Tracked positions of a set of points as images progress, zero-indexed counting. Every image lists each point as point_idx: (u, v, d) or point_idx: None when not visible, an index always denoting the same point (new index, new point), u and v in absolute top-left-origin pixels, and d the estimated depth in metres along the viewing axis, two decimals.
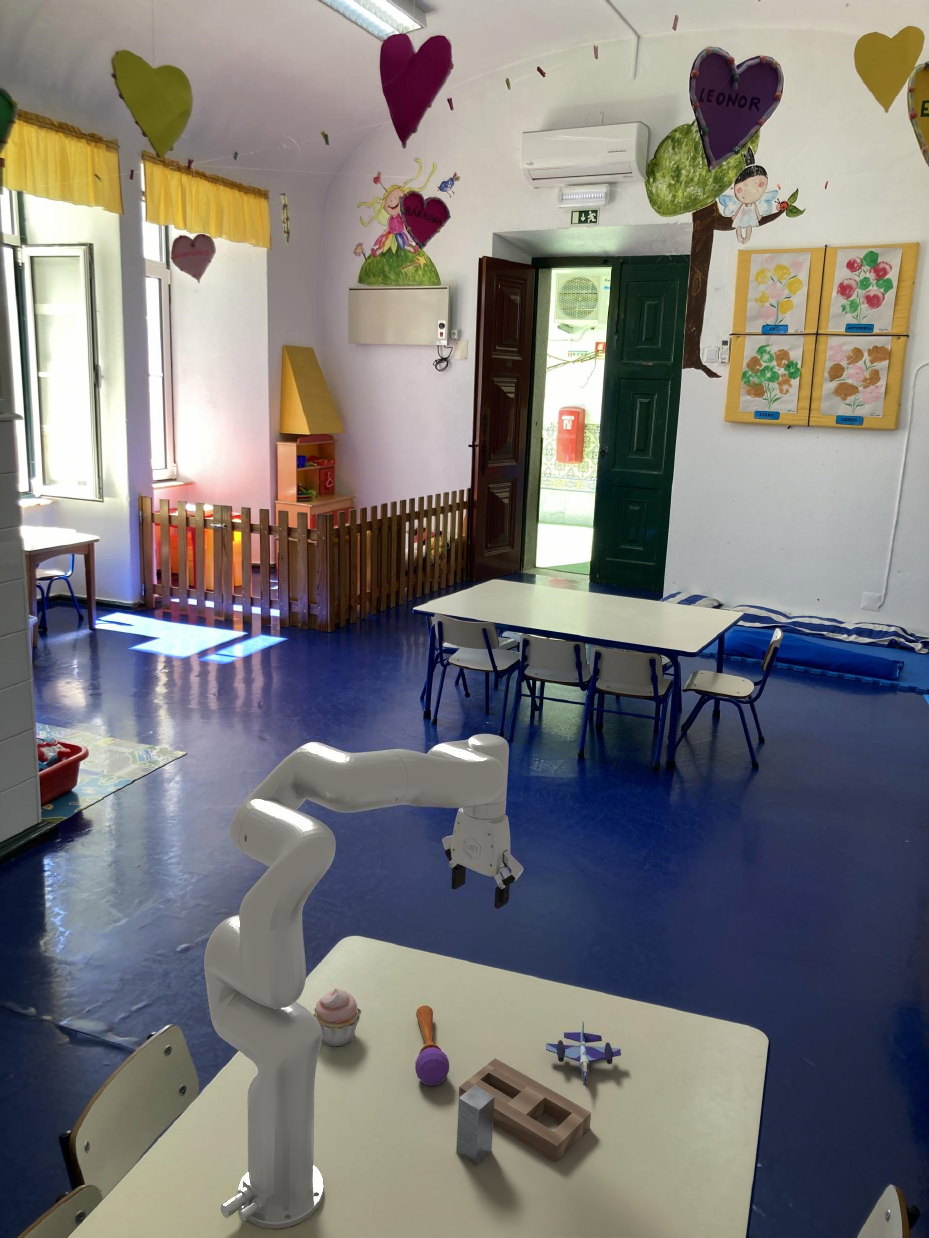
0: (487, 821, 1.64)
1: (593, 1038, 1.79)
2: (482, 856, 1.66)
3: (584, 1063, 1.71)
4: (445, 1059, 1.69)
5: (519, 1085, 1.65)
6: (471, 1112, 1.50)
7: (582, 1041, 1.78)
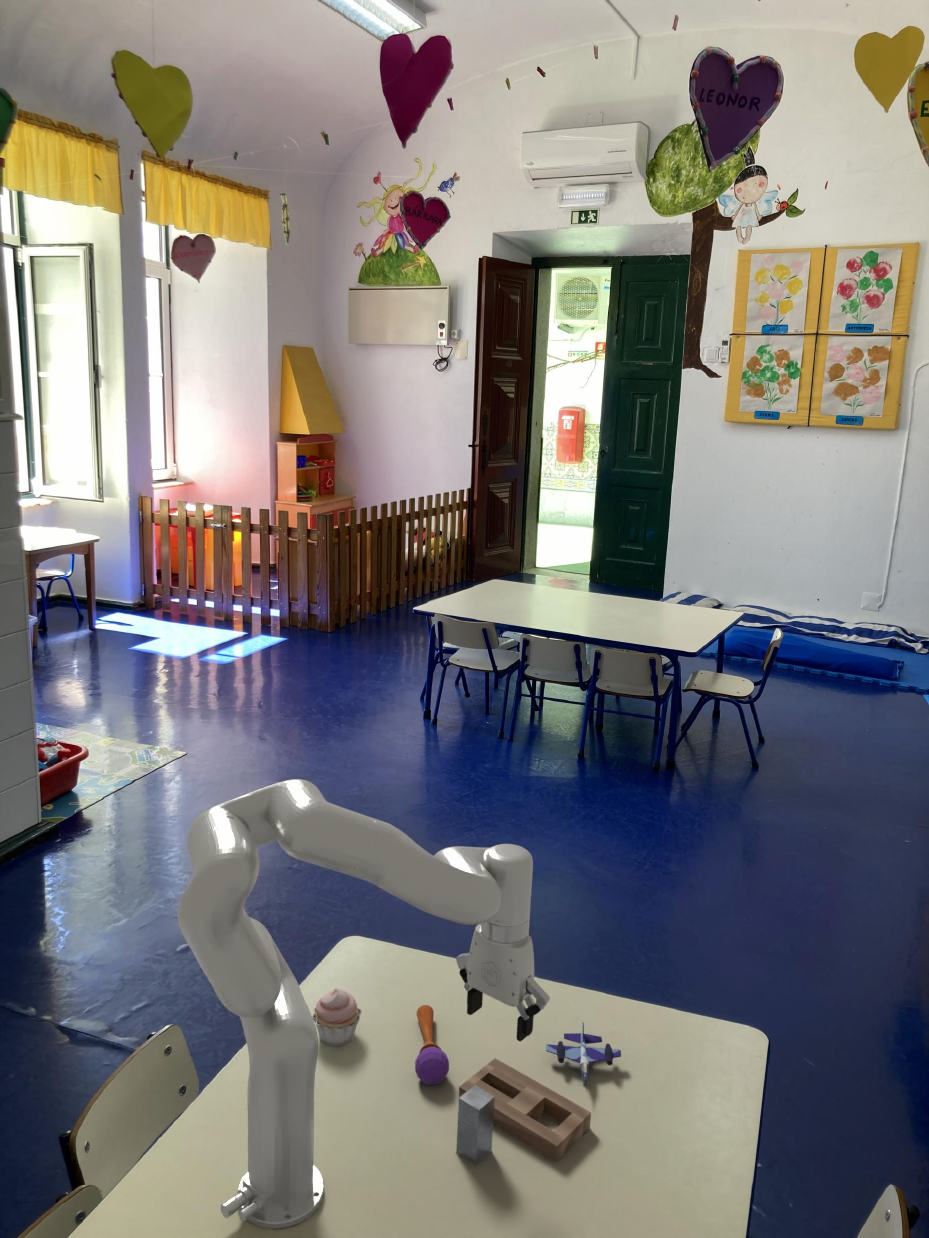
0: (509, 945, 1.46)
1: (593, 1039, 1.79)
2: (503, 983, 1.47)
3: (584, 1064, 1.71)
4: (445, 1058, 1.69)
5: (519, 1085, 1.65)
6: (471, 1112, 1.50)
7: (582, 1042, 1.77)
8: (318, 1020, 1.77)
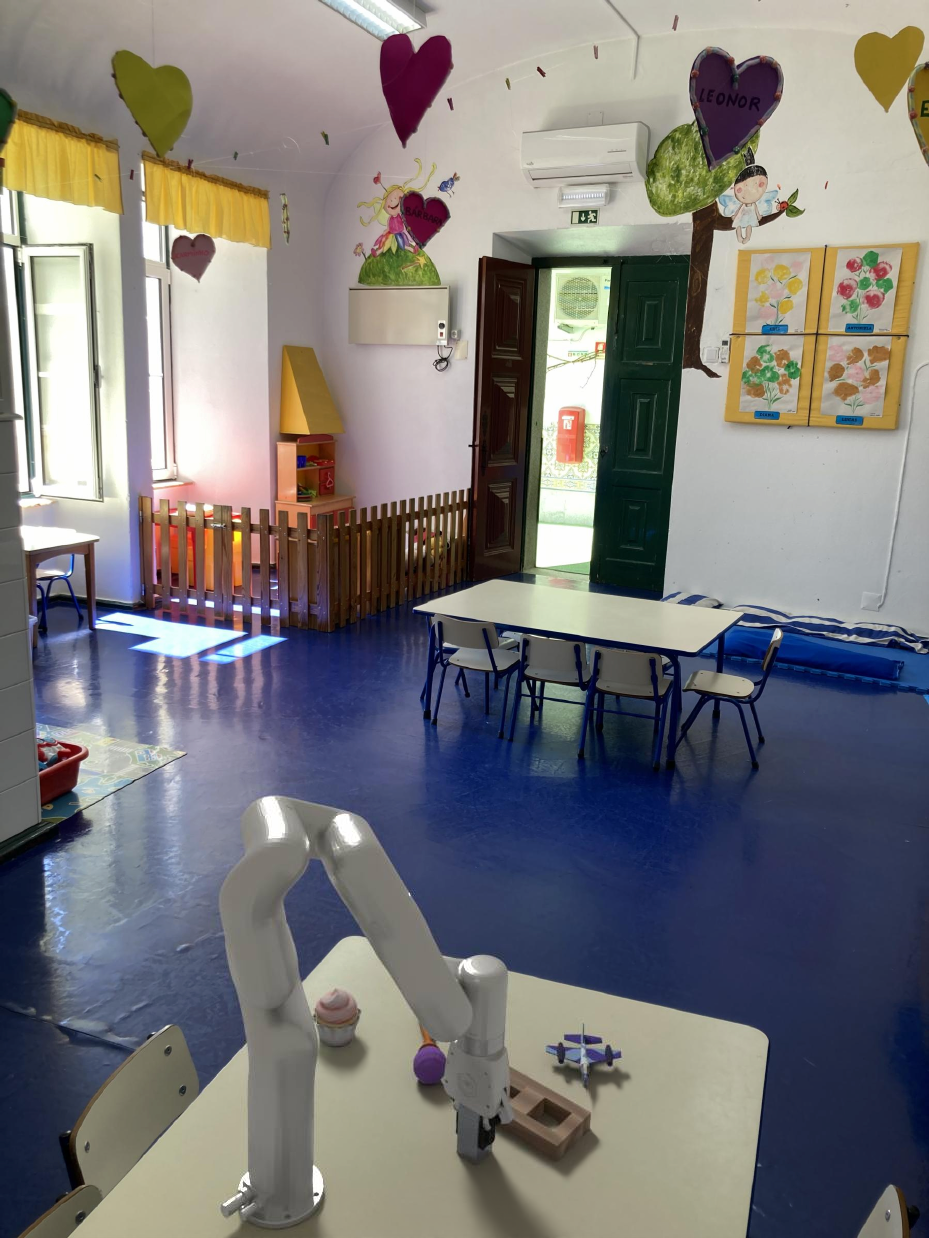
0: (484, 1058, 1.46)
1: (593, 1040, 1.79)
2: (478, 1095, 1.48)
3: (584, 1065, 1.70)
4: (443, 1058, 1.69)
5: (519, 1085, 1.65)
6: (472, 1112, 1.50)
7: (582, 1043, 1.77)
8: (318, 1020, 1.77)
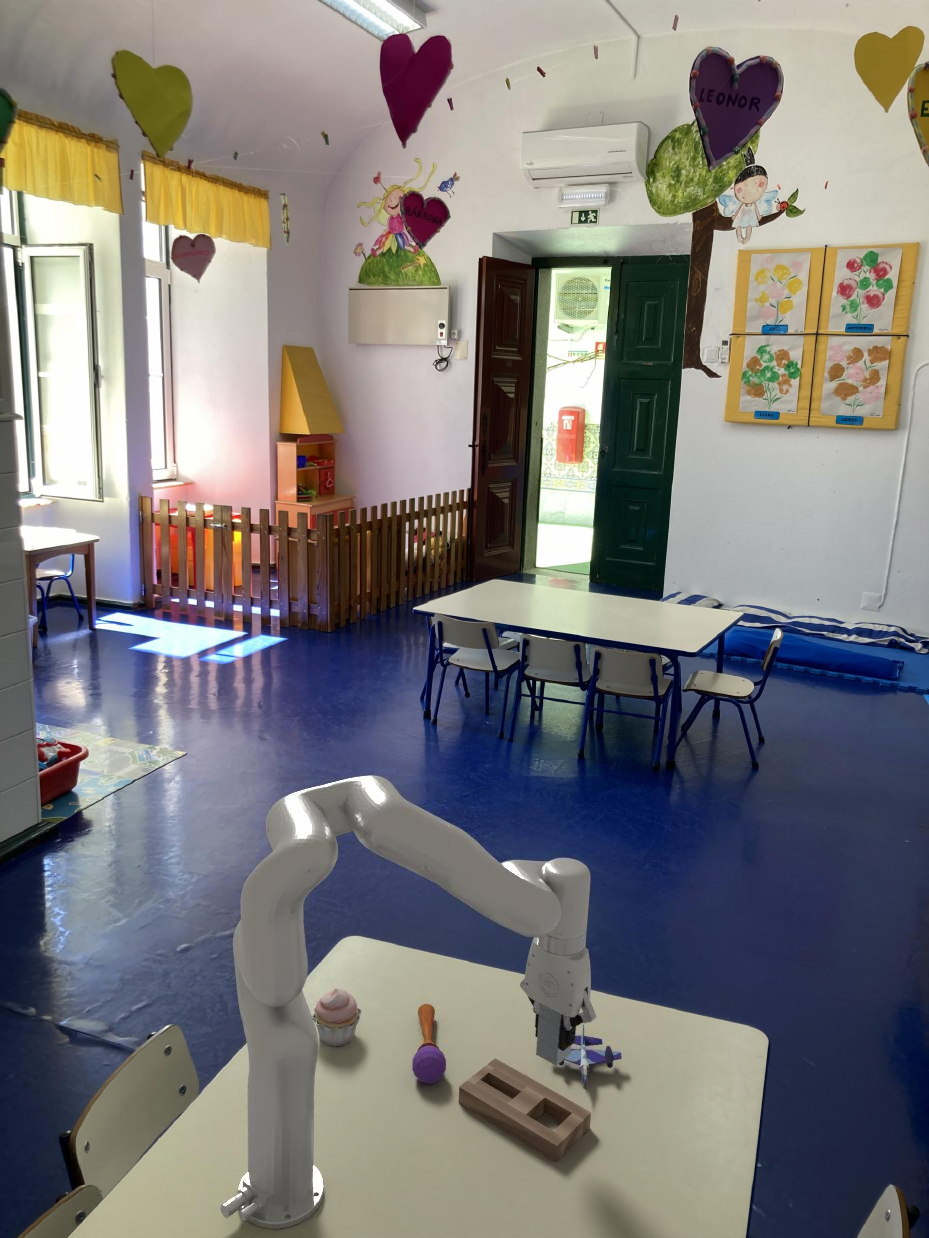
0: (567, 957, 1.49)
1: (593, 1041, 1.78)
2: (560, 994, 1.50)
3: (584, 1067, 1.70)
4: (442, 1058, 1.69)
5: (519, 1085, 1.65)
6: (553, 1013, 1.53)
7: (582, 1044, 1.77)
8: (318, 1020, 1.77)
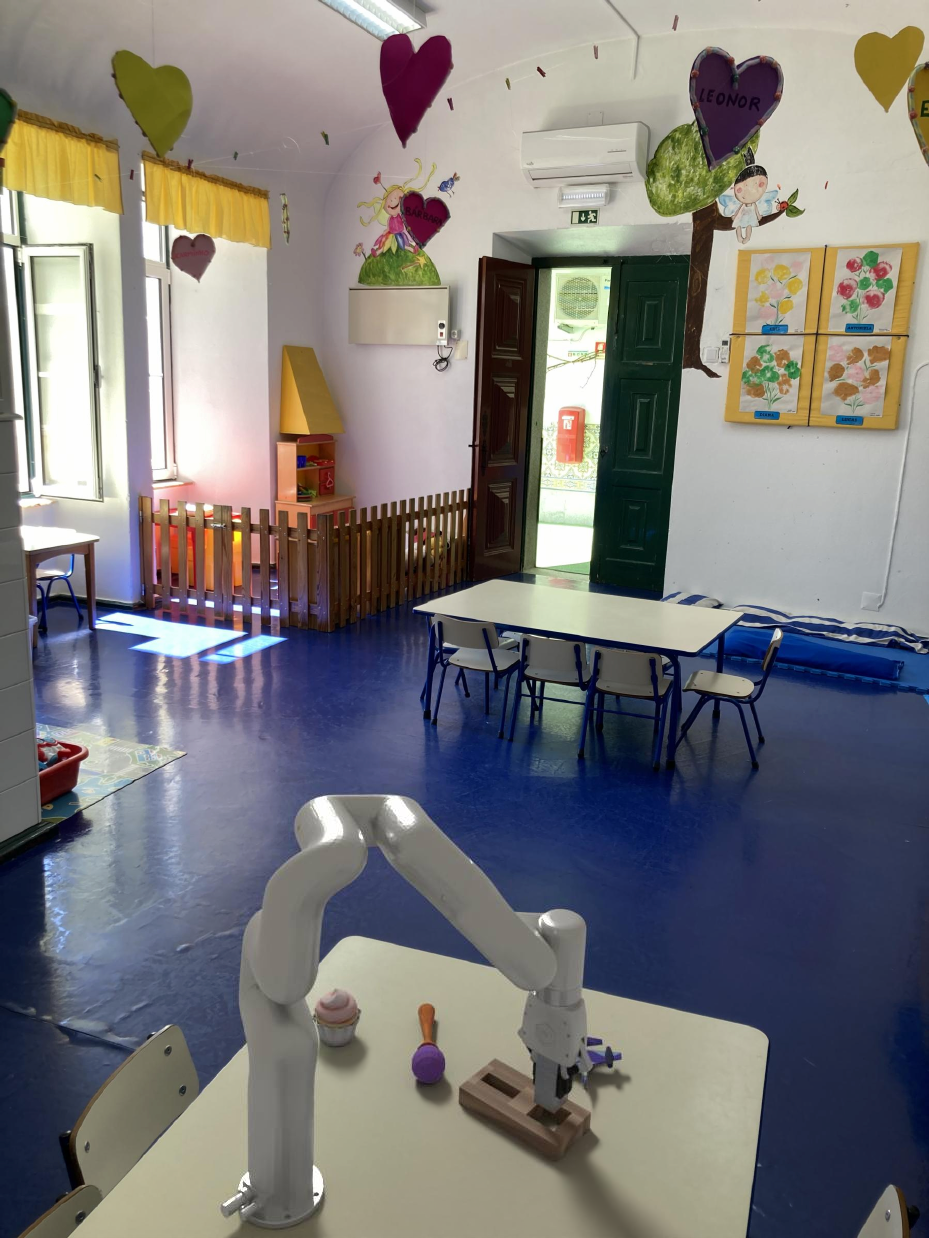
0: (563, 1008, 1.51)
1: (593, 1041, 1.78)
2: (557, 1045, 1.52)
3: None
4: (441, 1057, 1.69)
5: (519, 1085, 1.65)
6: (550, 1062, 1.55)
7: None
8: (318, 1020, 1.77)
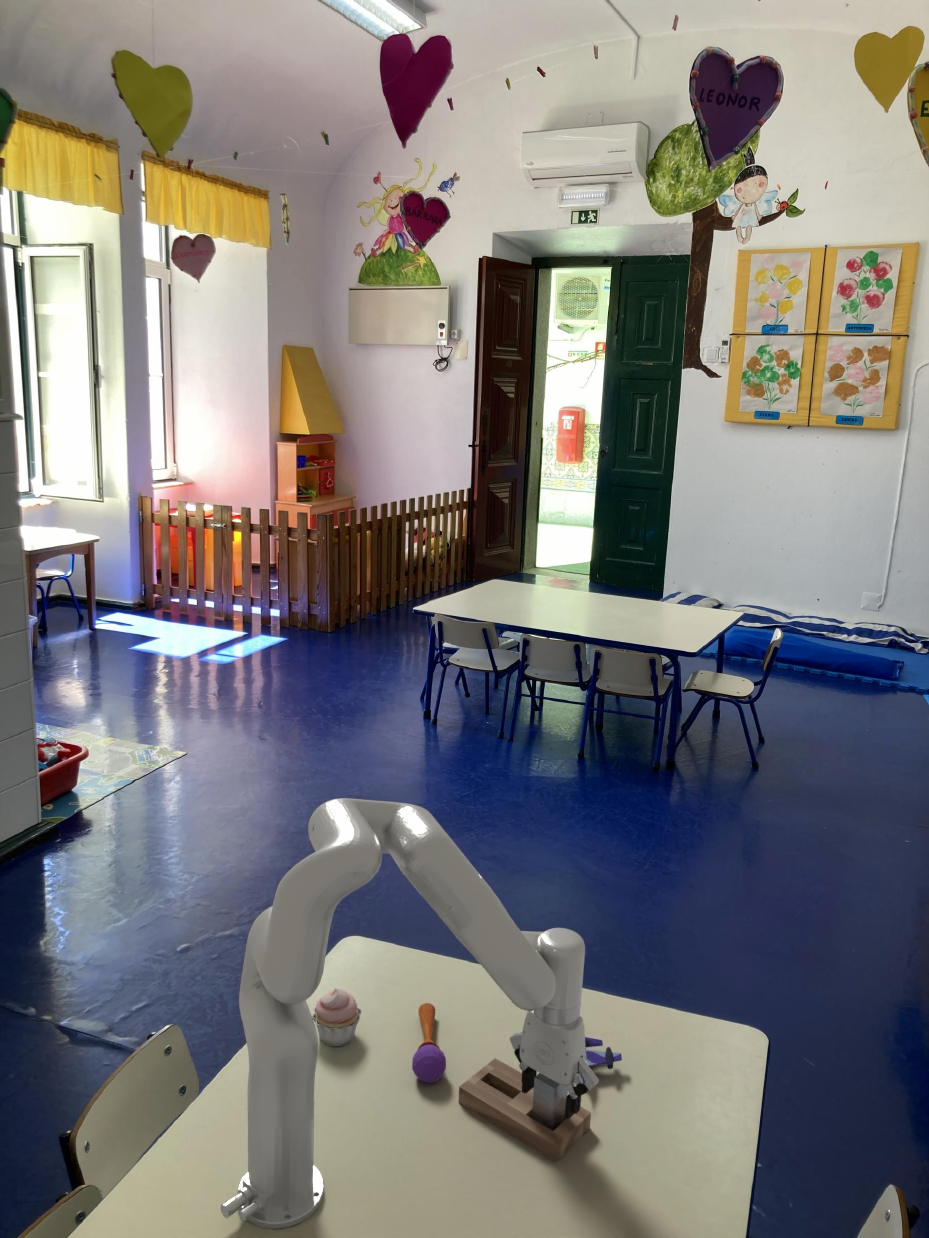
0: (562, 1027, 1.51)
1: (593, 1042, 1.78)
2: (555, 1063, 1.53)
3: None
4: (442, 1057, 1.69)
5: (519, 1085, 1.65)
6: (547, 1091, 1.56)
7: None
8: (318, 1020, 1.77)
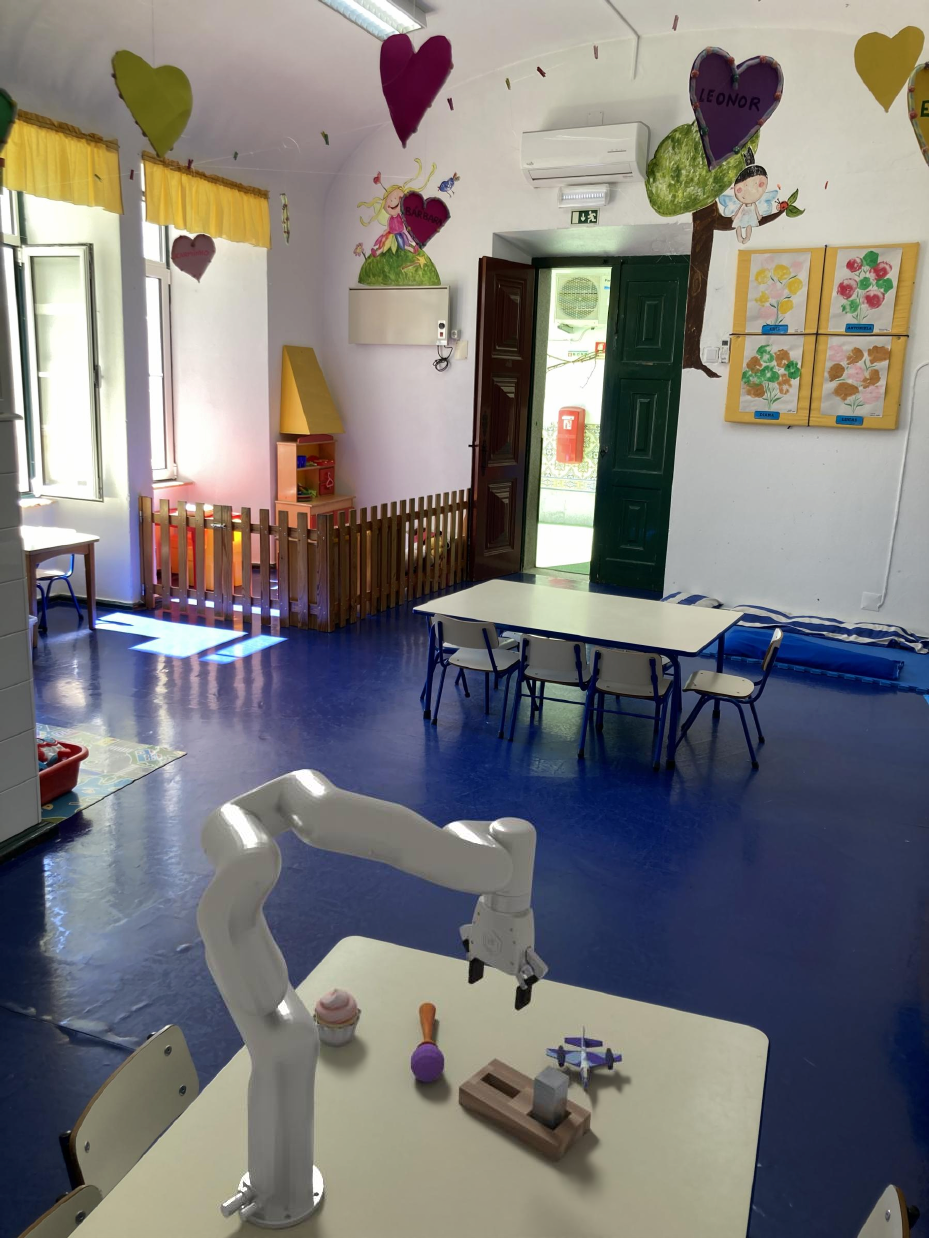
0: (510, 915, 1.50)
1: (593, 1043, 1.78)
2: (503, 952, 1.51)
3: (584, 1069, 1.69)
4: (440, 1056, 1.69)
5: (519, 1085, 1.65)
6: (547, 1091, 1.56)
7: (583, 1046, 1.76)
8: (318, 1020, 1.77)
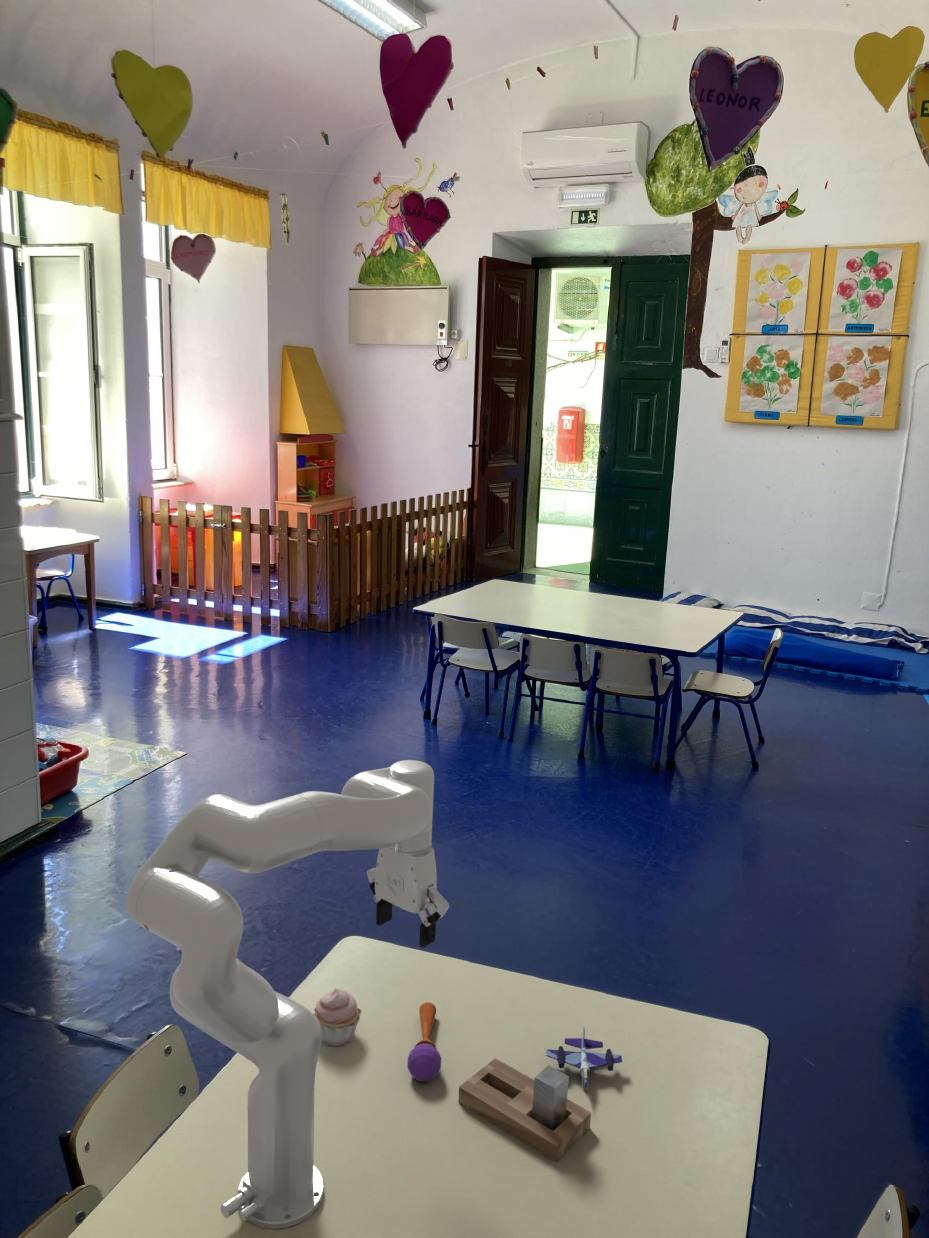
0: (410, 854, 1.53)
1: (594, 1044, 1.78)
2: (405, 891, 1.55)
3: (584, 1070, 1.69)
4: (437, 1056, 1.69)
5: (519, 1085, 1.65)
6: (547, 1091, 1.56)
7: (583, 1047, 1.76)
8: None
